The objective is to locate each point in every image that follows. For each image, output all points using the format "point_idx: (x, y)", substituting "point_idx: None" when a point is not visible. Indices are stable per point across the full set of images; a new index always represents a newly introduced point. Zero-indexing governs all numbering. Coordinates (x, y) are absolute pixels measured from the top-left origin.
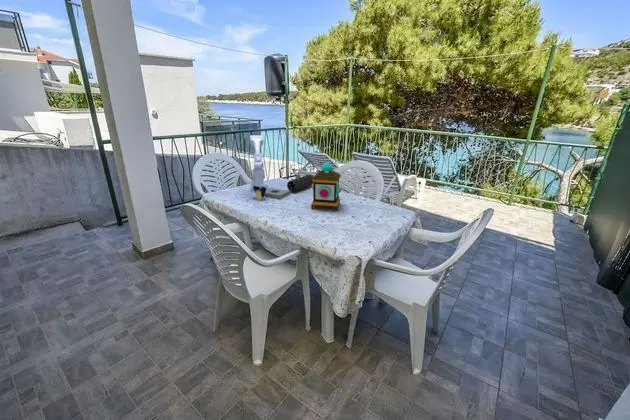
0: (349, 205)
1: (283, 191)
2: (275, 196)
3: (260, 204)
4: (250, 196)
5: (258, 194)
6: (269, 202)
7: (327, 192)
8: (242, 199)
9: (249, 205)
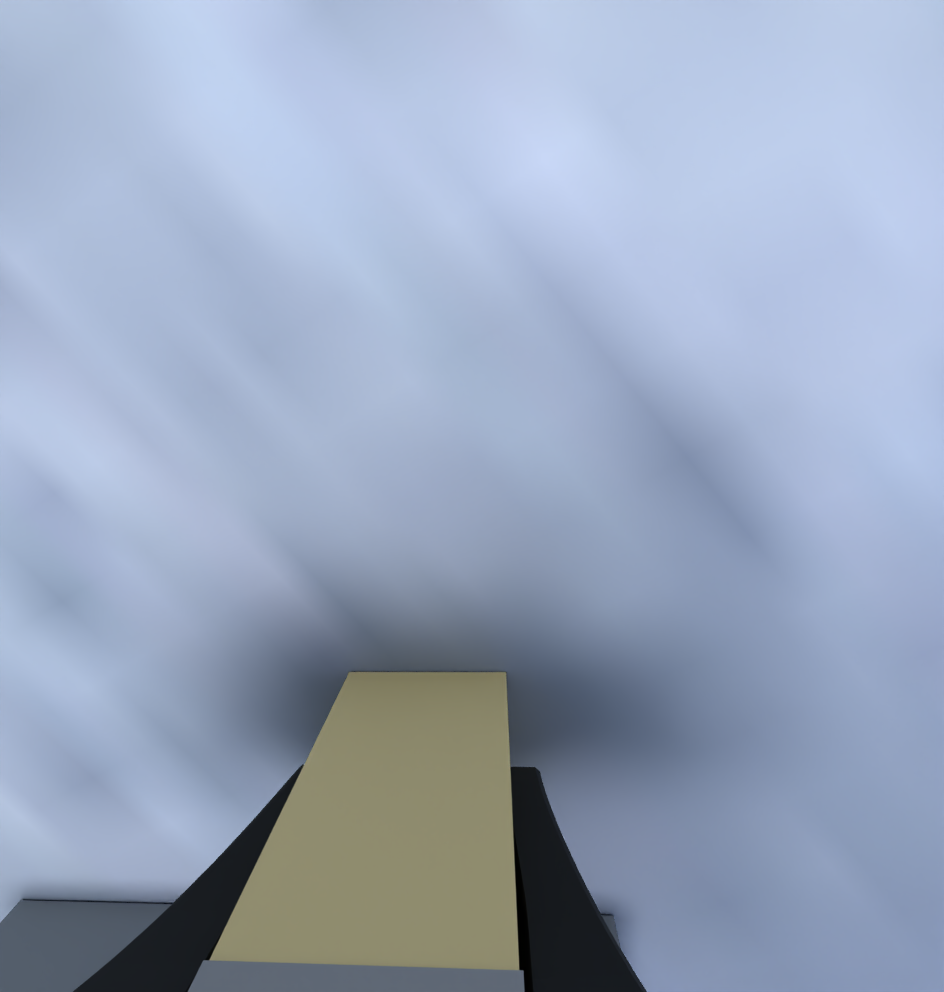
0: None
1: None
2: (95, 970)
3: (71, 357)
4: (835, 782)
5: (403, 813)
6: (25, 626)
7: None
8: (914, 455)
9: (272, 52)
